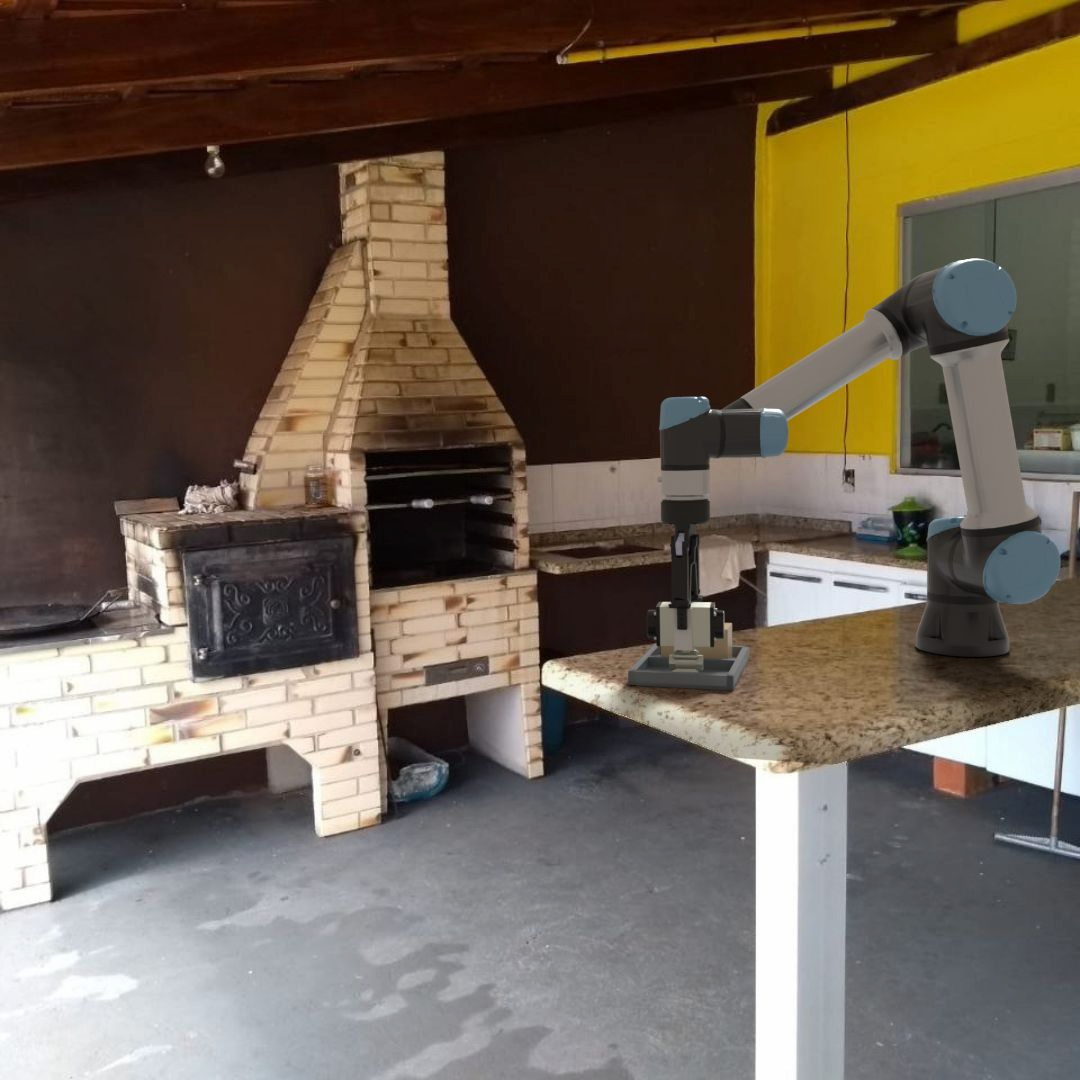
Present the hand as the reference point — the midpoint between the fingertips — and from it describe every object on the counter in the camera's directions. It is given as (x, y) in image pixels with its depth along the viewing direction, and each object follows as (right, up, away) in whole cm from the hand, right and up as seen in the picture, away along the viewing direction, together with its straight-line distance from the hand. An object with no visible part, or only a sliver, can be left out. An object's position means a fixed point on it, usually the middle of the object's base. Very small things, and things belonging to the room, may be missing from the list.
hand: (686, 645), depth 164 cm
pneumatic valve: (0, -4, 0) cm, 5 cm away
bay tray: (+2, -5, +6) cm, 8 cm away
